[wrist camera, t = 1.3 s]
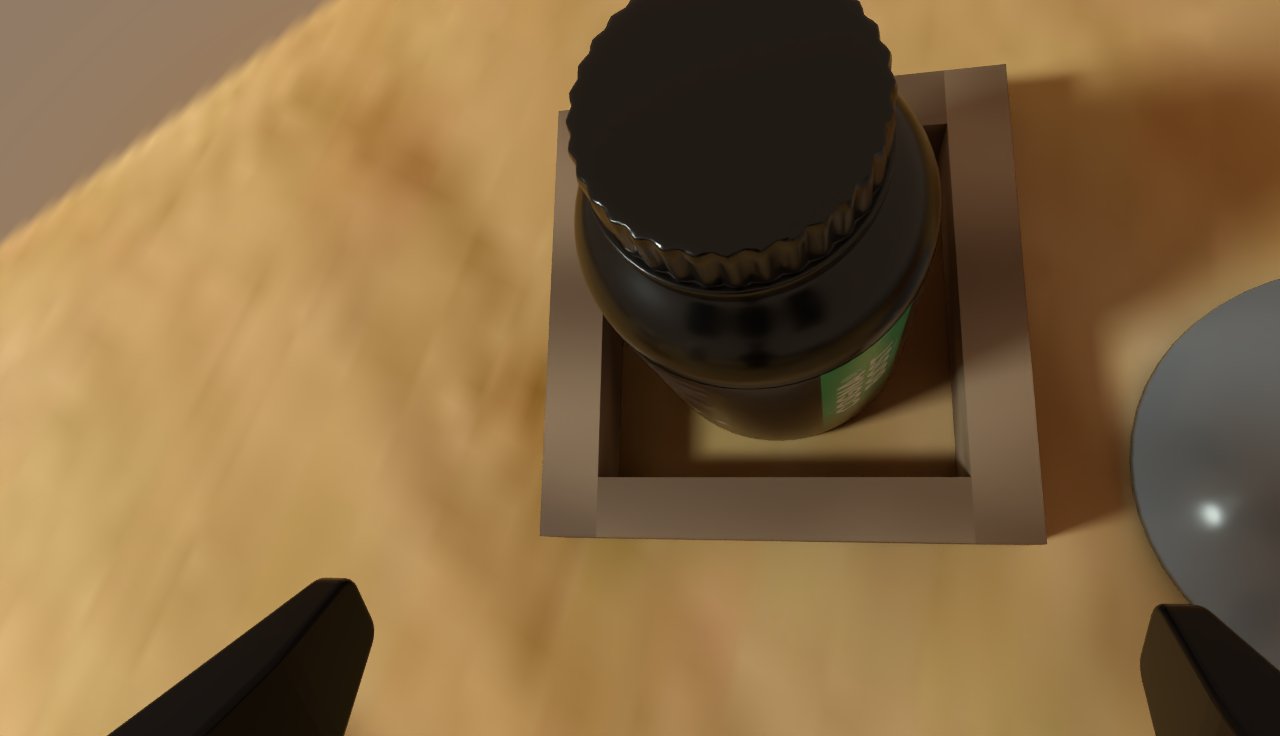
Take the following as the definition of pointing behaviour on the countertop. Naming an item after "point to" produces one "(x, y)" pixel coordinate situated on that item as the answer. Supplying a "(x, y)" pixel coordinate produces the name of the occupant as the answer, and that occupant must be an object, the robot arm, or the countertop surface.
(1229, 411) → the slate coaster
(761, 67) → the supplement bottle
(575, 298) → the brown flat square frame
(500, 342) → the countertop surface
